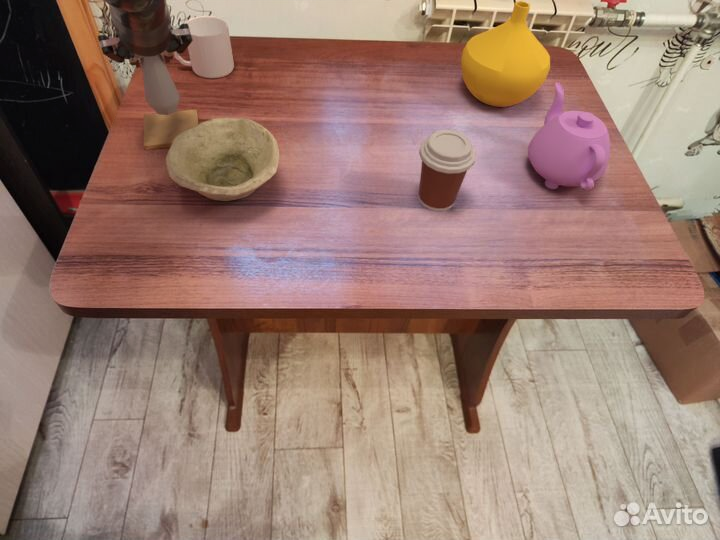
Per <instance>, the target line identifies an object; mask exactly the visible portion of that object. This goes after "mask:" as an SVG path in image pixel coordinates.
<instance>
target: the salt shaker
mask: <svg viewBox="0 0 720 540" xmlns="http://www.w3.org/2000/svg"><path fill="white" fill-rule="evenodd" d="M140 62H141V63H140V64H141V71H142V80H143V88H144V89H143V90H144V96H145V101H146V103H147V105H148V106H150V108H151V109H153V110H154V112H155V113H158V114H159V115H170V114H172V113H174V112H176V111H178V105H179V102H180V99H181V97H180V96H181V95H180V94H179V93H180V92H179V90H178V88H177V87H176V84H175V82H174V80H173V78H172V76H171V74H170V72H169V69H168V67H167V65H166V62H165V60H164V58H163V55H161V54H159V55H156V56H151V57H145V56H142V57H141V59H140Z"/></svg>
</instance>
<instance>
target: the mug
mask: <svg viewBox="0 0 720 540" xmlns="http://www.w3.org/2000/svg"><path fill="white" fill-rule="evenodd" d="M184 23H186V24H188V26H189V29H190V33H191V36H192V39H193V41H192V42H191V43H190V45H189V46H188V47H187V50H188V56H189V60H186V59H184V58H183V57H182V56H181V55H180V54H179V53H177V52H173V57H174V58H175V59H176V60H177V61H178V62H179V63H180V64H181V65H183V66H185V67H191V68H192V72H194V74H195V75H197V76H199V77H201V78H204V79H209V80H210V79H221V78H224V77H226V76H228V75H230V74H231V73H232V72H233V70H234V68H235V63H234V56H233V50H232V42H231V35H230V29H229V24H228V22H227V20H225V19H223V17H219V16H215V15H198V16H194V17H192V18H189V19H187V20H186V21H185V22H184Z"/></svg>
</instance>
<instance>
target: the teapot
mask: <svg viewBox="0 0 720 540" xmlns="http://www.w3.org/2000/svg"><path fill="white" fill-rule="evenodd" d="M554 88H555V94H554V98H553V101H552V103H551V105H550V107H549V109H548V110H547V112H546V114H545V117H544V122H543V125H542V126H541V127H540V128H539V129H538V130H537V131H536V133H535V134H534V135H533V136H532V138H531V140H530V142H529V144H528V147H527V156H528V159H529V161H530V163H531V166H532V167H533V169H534V170H535V172H536V173H538V175H539V176H541V177H542V178H543V179H545V181H544V186H545V187H546V188H548V189H551V190H556V189H558V188H559V186H563V187H580V188H582V190H584V191H590V190H592V189H593V188H594V187H595V182H596V181H598V180H599V179H600V178H601V177H603V175H604V174H605V172H606V170H607V169H608V166H609V163H610V159H611V140H610V135H609V130H608V128H607V126H606V124H605V122H603V121H602V120H601V118H599V117H598V116H596V115H595V114H593V113H592V112H590V111H583V110H567V111H564V112H563V110H564V109H563V107H564V103H565V102H564V101H565V90H564V87H563V85H562V84H561V83H560V82H557V81H556V82H555V84H554Z"/></svg>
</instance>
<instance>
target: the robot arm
mask: <svg viewBox="0 0 720 540" xmlns="http://www.w3.org/2000/svg"><path fill="white" fill-rule="evenodd" d="M102 1H103V2H105V3H106V4H108V8H109V9H108V10H109V13H110V18H111V21H112V25H113V28H114V29H115V31H116V33H115V34H114V37H112V36H107V35H105V34H99V35H98V36H97V40H98V43H99V46H100V49H101V52H102V55H104V56H106V57H108V58H109V59H111V60H113V61H114V62H116V63H119V64H123V63H125V62H126V60H128V62H129V63H130V65H131V66H135V69H136V68H137V69H138V68H141V63H140V61H139V60H141V57H142V56H145V57H151V56H156V55H159V54H161V56H162V57H163V60H164V63H165V64H169V63H171V60H173V59H174V53H173V52H177V53H178V54H179V55H180V54H184V53H185V52H186V50H188V46H189V45H190V43H191V42H192V41H193V39H192V36H191V33H190V29H189V26H188V24H186V23H185V22H184V23H182V24H180V25H179V26H178V27H175V28H174V27H173V26H172V17H171V13H170V9H169V6H168V3H167V0H102Z"/></svg>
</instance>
